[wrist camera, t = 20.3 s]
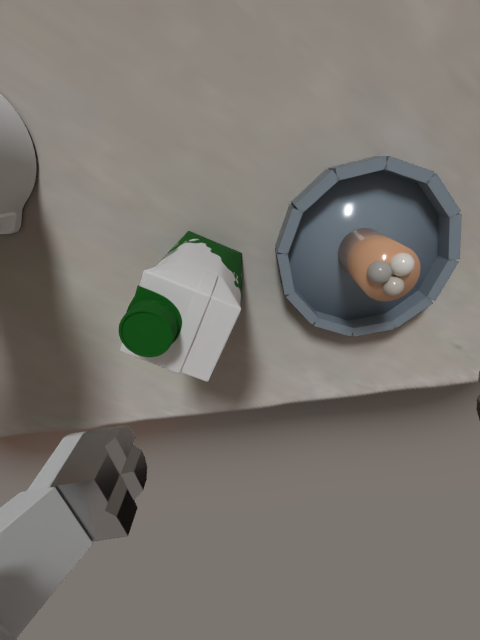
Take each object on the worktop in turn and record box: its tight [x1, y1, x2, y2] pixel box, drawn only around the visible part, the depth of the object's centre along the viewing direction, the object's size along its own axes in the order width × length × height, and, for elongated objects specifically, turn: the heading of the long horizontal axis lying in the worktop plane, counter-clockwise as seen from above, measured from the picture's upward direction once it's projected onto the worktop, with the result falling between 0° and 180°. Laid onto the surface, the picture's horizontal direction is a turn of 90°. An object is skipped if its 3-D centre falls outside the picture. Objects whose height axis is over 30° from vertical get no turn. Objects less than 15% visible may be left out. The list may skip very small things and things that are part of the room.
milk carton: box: [119, 231, 242, 382], centre depth 34 cm, size 9×9×20 cm
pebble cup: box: [338, 228, 420, 301], centre depth 35 cm, size 6×6×10 cm
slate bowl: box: [275, 156, 462, 337], centre depth 40 cm, size 20×20×4 cm
